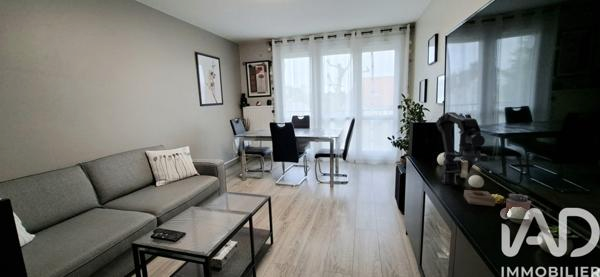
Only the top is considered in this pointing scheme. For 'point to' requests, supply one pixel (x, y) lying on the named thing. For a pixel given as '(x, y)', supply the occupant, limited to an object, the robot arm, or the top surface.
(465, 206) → the top surface
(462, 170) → the pin
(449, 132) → the robot arm
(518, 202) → the lighter
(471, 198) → the bore block
